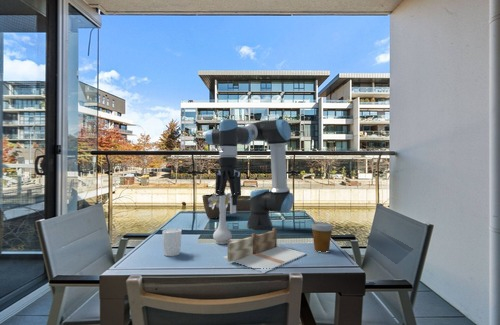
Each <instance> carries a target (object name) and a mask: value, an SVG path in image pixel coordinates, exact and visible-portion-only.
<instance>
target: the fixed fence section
mask: <svg viewBox="0 0 500 325" xmlns="http://www.w3.org/2000/svg"><path fill="white" fill-rule="evenodd" d="M277 235H278V228H277V227H273V228H272V230H270V231H267V232H263V233H261V234H259V233H258V234H257V233H255V232H253V233H251V237H253V254H256V253H259V252H261V251H264V250H267V249H270V248H273V247H276V246H278V242H277V240H278V236H277Z"/></svg>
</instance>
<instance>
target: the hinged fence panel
mask: <svg viewBox="0 0 500 325" xmlns="http://www.w3.org/2000/svg"><path fill="white" fill-rule="evenodd" d="M251 254H253V237H252V236H248V237H244V238H241V239H237V240H233V241H229V242H228V243H227V256H228V260H227V262H230V263H231V262H232V261H234V260H237V259H240V258H243V257H246V256H248V255H251Z"/></svg>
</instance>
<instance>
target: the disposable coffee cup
mask: <svg viewBox="0 0 500 325" xmlns="http://www.w3.org/2000/svg"><path fill="white" fill-rule="evenodd" d="M310 227H311V229H312V237H313V248H314V251H315V250H316V251H321V252H326V251H329V252H330V247H331V239H332V232H333V229H334V227H333V225H332V224H331V223H329V222H321V221H318V222H313V223H312V224H311V226H310ZM316 251H315V252H316Z"/></svg>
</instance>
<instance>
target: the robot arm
mask: <svg viewBox="0 0 500 325" xmlns="http://www.w3.org/2000/svg"><path fill="white" fill-rule="evenodd" d="M204 135H205V136H204V137H205V138H204V139H205V141H206V144H208V145H210V146H219V148H218V149H219V150H218V156H220V157H219V158H218V165H219V166H220V169H219V170H215V172H214V174H215V190H214V194H215V193H216V194H217V195H219V211H225V194H224V192H225V191H226V187H227V184H228V185H229V189H230V193H231V195H232V196H230V203H229V214H230V215H231V214H236V213H237V205H238V198H239V197H241V195H242V183H241V182H242V181H241V176H242V171H238V170H237V169H236V167H237V166H238V158H237V156H238V145H241V146H242V145H243V146H244V145H245V146H246V145H249V144H250V143H251V142H252V141H260V142H262V141H263V142H267V145H268V146H269V147H270V150H269V151H270V152H269V153H270V163H271V164H270V166H271V167H270V168H271V169H270V170H271V185H272V187H271V188H270V189H268V188H264V189H255V190H252V191H251V192H250V197H249V199H250V200H249V208H250V209H249V212H250V213H249V217H248V221H247V224H246V228H248V229H251V230H257V231H258V230H259V231H261V230H269V229H273V228H272V226H273V224H272V223H273V222H272V221H271V216H270V212H276V213H283V214H287V213H289V212H290V211H291V210H292V208H293V206H294V201H295V198H294V194H293V193H292V192H291V189H290V188H289V187H288V184H287V180H288V179H287V162H286V161H287V160H286V159H287V158H286V145H288V143H289V142H288V141H290V139H291V137H292V130H291V125H290V124H289V122H288V121H287V120H286V119H272V120H271V119H270V120H260V121H257V122H256V121H255V122H252V123H248V124H245V125H242V126H241V125H240V126H239V125H238V121H237V120H236V119H230V118H228V119H227V118H226V119H224V118H223V119H221V120H220V121H219V127H218V128H216V129H215V128H212V129H208V130H207V131H206V132H205V134H204ZM227 182H228V183H227ZM225 193H226V192H225ZM223 195H224V196H223Z"/></svg>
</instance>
